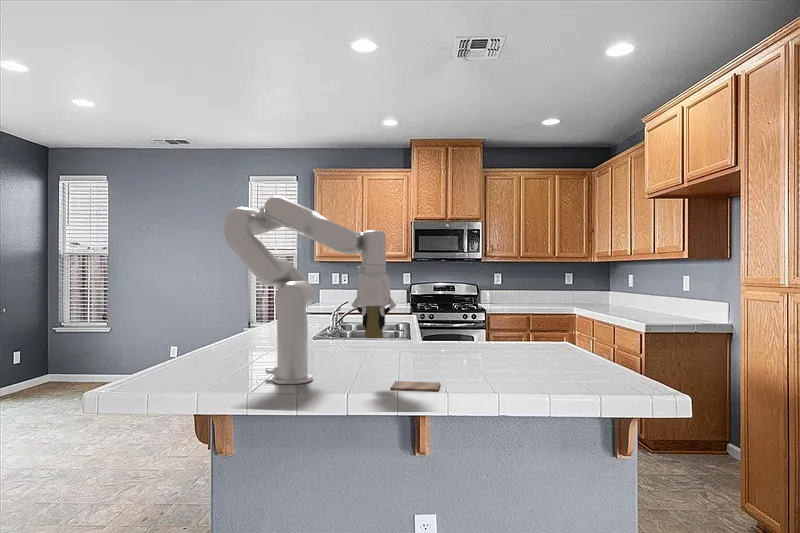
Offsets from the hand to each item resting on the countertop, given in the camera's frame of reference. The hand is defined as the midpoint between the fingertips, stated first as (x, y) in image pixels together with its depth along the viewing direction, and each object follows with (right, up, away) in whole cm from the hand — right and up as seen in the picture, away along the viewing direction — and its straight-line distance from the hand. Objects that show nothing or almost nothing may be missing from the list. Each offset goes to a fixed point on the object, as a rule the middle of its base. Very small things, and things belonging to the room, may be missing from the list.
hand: (373, 327), depth 166 cm
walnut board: (+13, -17, -6) cm, 22 cm away
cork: (0, -3, 0) cm, 3 cm away
